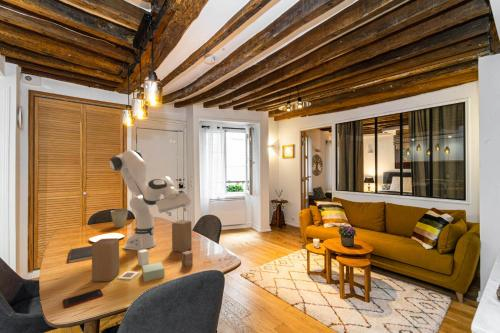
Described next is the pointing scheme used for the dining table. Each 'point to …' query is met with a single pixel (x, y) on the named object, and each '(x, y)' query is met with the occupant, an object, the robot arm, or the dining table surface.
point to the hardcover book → (80, 254)
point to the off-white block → (143, 257)
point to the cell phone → (82, 298)
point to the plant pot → (119, 217)
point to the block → (181, 236)
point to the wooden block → (105, 259)
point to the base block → (152, 271)
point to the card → (128, 275)
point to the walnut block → (187, 259)
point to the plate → (106, 236)
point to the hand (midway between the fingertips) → (177, 212)
